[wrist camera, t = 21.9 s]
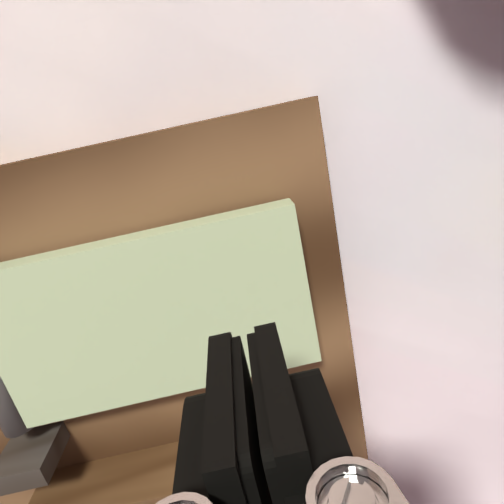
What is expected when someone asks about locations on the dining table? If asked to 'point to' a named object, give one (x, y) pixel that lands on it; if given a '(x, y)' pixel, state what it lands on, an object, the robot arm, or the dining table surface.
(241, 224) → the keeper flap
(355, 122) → the dining table surface
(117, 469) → the wooden fixture board
